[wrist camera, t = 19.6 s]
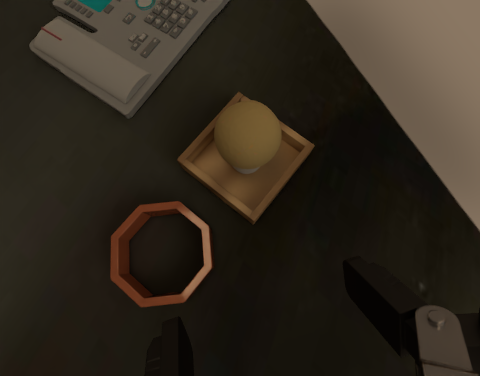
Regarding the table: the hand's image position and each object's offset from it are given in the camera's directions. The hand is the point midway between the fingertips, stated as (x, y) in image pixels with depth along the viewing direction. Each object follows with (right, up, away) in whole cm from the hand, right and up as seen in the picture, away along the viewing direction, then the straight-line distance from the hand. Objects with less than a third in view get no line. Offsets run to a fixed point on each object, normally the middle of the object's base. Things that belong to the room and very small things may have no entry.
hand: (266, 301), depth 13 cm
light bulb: (-1, +9, +21) cm, 22 cm away
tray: (-1, +9, +21) cm, 23 cm away
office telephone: (-17, +29, +27) cm, 43 cm away
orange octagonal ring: (-9, -2, +18) cm, 21 cm away
